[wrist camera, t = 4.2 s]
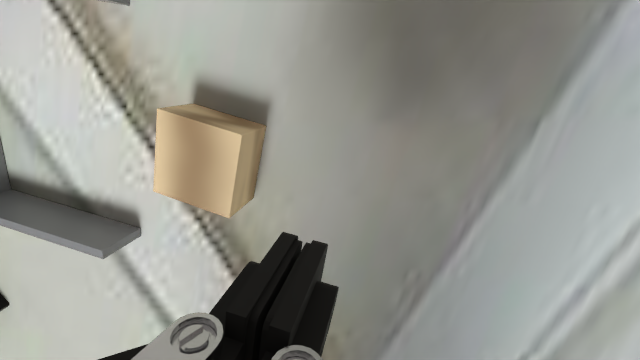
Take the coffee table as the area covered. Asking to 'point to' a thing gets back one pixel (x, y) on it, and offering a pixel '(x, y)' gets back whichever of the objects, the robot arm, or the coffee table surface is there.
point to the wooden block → (207, 157)
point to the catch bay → (62, 218)
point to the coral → (3, 303)
